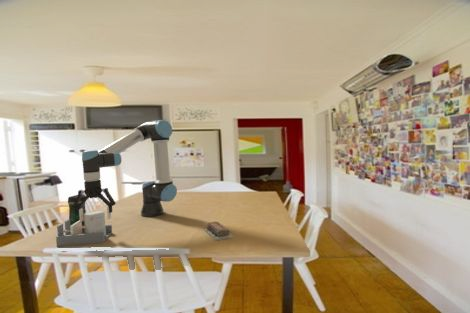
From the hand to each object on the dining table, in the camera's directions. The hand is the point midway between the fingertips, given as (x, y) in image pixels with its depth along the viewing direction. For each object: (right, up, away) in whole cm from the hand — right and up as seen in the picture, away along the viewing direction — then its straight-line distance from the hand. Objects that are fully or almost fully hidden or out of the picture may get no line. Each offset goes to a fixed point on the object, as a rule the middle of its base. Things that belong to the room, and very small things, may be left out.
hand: (95, 220), depth 136 cm
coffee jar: (-25, -10, +27) cm, 38 cm away
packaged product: (+64, -8, +2) cm, 65 cm away
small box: (0, -9, 0) cm, 9 cm away
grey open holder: (-13, -9, -2) cm, 16 cm away
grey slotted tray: (-4, -10, -1) cm, 11 cm away
